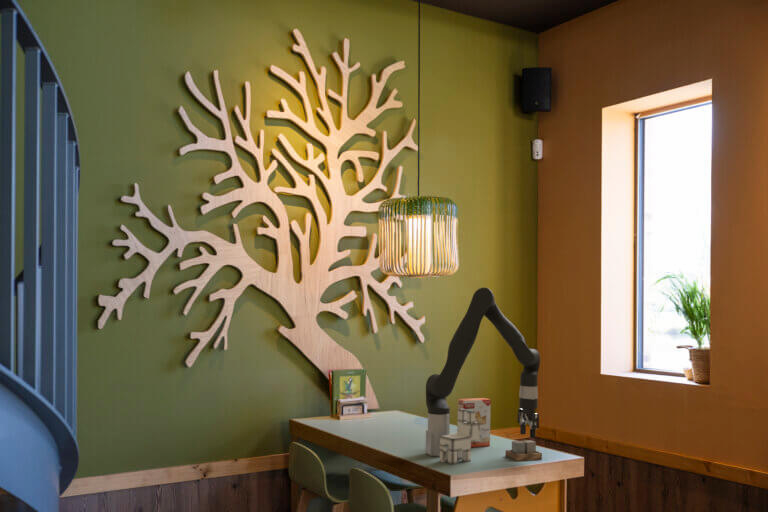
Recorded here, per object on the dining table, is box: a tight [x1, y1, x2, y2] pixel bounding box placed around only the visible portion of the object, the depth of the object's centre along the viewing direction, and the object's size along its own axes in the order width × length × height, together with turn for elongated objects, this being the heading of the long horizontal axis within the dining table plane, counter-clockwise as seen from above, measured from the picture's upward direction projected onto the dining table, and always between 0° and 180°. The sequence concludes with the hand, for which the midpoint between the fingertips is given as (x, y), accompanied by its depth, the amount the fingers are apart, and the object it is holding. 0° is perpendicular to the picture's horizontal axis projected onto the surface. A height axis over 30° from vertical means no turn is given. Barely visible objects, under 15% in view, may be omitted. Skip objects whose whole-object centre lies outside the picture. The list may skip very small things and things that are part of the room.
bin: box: [504, 449, 543, 462], centre depth 304 cm, size 12×9×2 cm
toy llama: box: [439, 408, 480, 466], centre depth 297 cm, size 8×18×20 cm, turn 128°
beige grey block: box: [521, 439, 537, 454], centre depth 304 cm, size 4×4×6 cm
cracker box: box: [456, 397, 492, 448], centre depth 327 cm, size 14×6×21 cm, turn 112°
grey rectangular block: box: [511, 440, 525, 454], centre depth 303 cm, size 4×4×6 cm
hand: (527, 436), depth 304 cm, fingers open, 8 cm apart
